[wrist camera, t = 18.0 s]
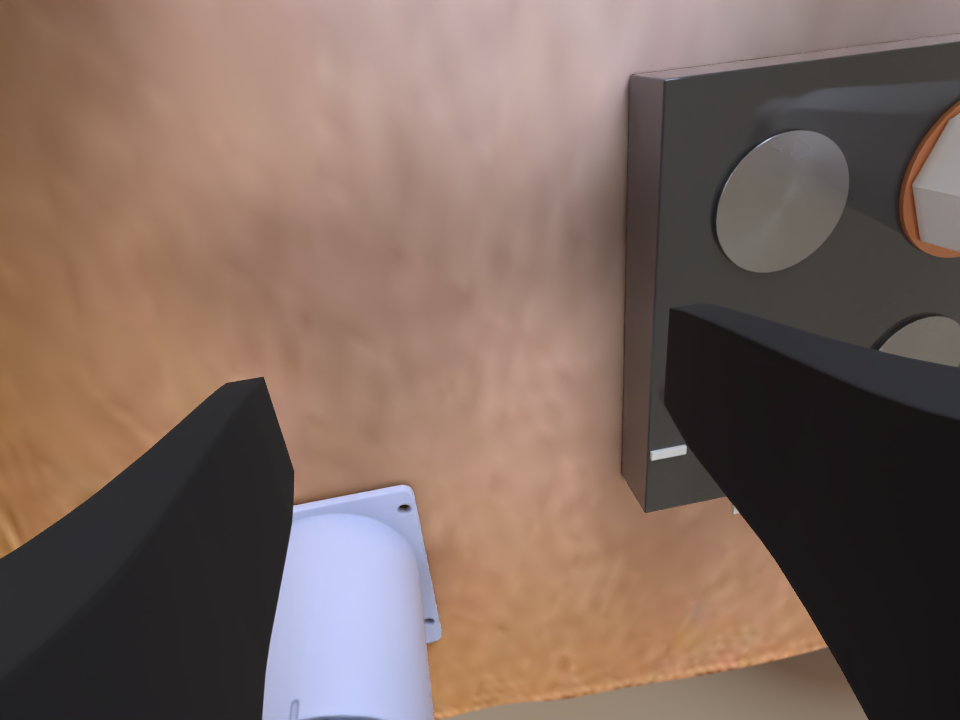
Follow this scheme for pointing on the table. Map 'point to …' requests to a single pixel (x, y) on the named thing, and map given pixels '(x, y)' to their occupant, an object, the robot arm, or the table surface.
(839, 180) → the burners
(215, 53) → the table surface
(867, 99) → the hob
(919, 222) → the pepper shaker
